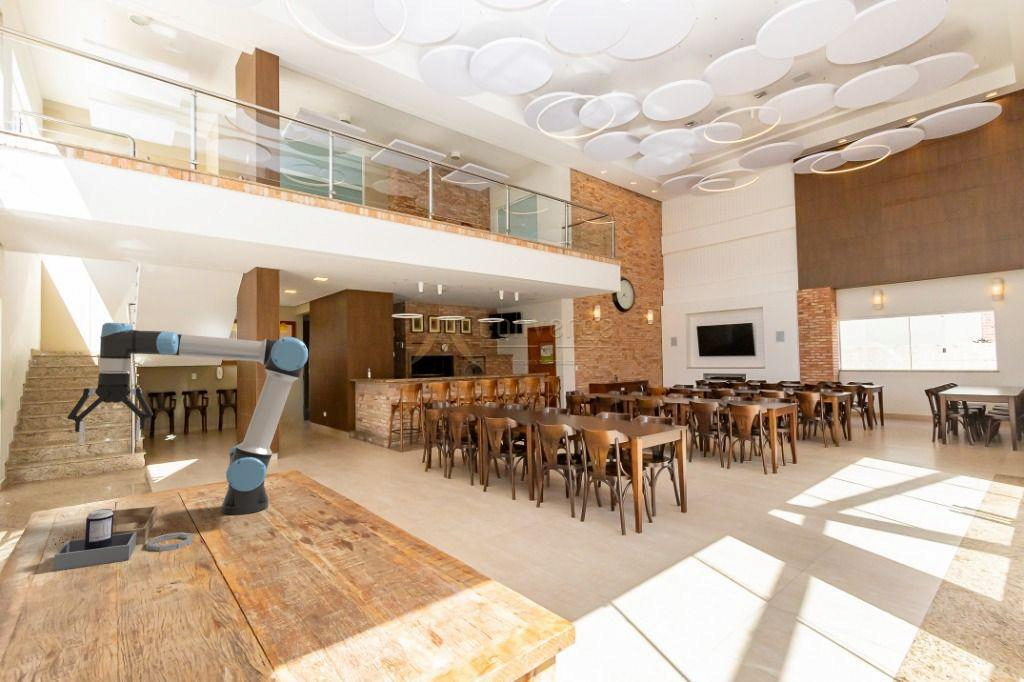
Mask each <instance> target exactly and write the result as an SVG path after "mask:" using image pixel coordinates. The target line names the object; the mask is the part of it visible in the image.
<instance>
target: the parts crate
mask: <svg viewBox="0 0 1024 682" xmlns="http://www.w3.org/2000/svg"><path fill="white" fill-rule="evenodd" d="M112 512H113V514H114V517H113V526H114V525H116V526H117V525H123V524H132V523H133V524H134V523H140V522H141V523H142V522H146V523H145V525H144V526H143V527H141V528H133V529H124V530H123V529H122V530H116V531H114V530H113V533H112V535H116V534H124V533H132V532H137V536H136V546H138V545H145V544H147V543H146V542H147V541H148V539H149V536H150V534H151V533H152V529H153V528H154V525H155V523H156V521H157V517H158V505H153V506H152V505H151V506H144V507H135V508H134V507H133V508H125V509H115V510H113V509H112Z"/></svg>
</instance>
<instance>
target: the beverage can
mask: <svg viewBox="0 0 1024 682" xmlns="http://www.w3.org/2000/svg"><path fill="white" fill-rule="evenodd" d="M112 511H113V509H111V508H99V509H94V510H91V511H89V512H88V515H87V516H86V520H85V521H86V522H85V532H84V533H85V534H84V535H85V536H84V537H85V549H84V550H92V549H99V548H107V547H112V533H113V532H114V525H113V517H114V514H113V512H112Z"/></svg>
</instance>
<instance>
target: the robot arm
mask: <svg viewBox="0 0 1024 682" xmlns="http://www.w3.org/2000/svg"><path fill="white" fill-rule="evenodd" d="M133 327H134V326H133V324H131V323H126V322H125V323H123V322H105V323H103V324H102V326H101V334H100V336H99V337H100V344H99V345H100V348H99V350H100V351H99V362H98V371H99V372H100V373H99V374H98V376H97V377H98V380H97V381H98V382H97V387H96V388H90V387H87V388H84V389H83V391H82V396H81V397H80V399H79V400H78V402H77V403H76V404H75V405H74V407H72V410H70V413H69V414H68V416H67V419H68V420H72V421H74V426H75V427H74V432H76V433H79V434H78V444H83V443H84V442H85V440H86V439H85V437H86V436H85V435H86V425H87V424H86V423H87V422H86V419H84V418H86V417H87V416H88V415H89V414H90V413H91V412H92V411H93V410H95V409H96V407H98V406H100V405H101V404H102V403H106V404H109V403H116V404H117V403H118V404H119V403H120V402H122V403H123V404H124V405H126V406H127V407H128V408H129V409H130V410H131V411H132V412H133V413H134V414H135V415H136V416H137V417H138V418H137V419H136V431H135V433H136V434H135V441H140V440H141V435H142V434H141V433H142V431H141V430H145V428H146V419H148V418H152V416H153V415H154V413H153V412H152V409H151V407H150V406H149V404H148V402H147V401H146V399H145V397H144V396H143V389H142V388H141V387H137V388H130V380H131V379H130V378H131V377H130V376H131V374H130V373H129V372H130V371H131V364H132V363H131V358H132V355H133V354H134V355H162V356H181V357H191V358H192V357H193V358H195V357H196V358H206V359H221V360H232V361H233V360H235V361H247V362H248V361H249V362H259V363H260V364H261V365H263V366H264V365H265V368H264V372H265V373H266V378H265V380H264V384H263V386H262V390H261V392H260V395H259V396H258V397H259V398H258V400H257V403H256V406H255V408H254V411H253V415H252V416H251V418H250V419H251V420H250V421H249V425H248V428H247V431H246V433H245V435H244V439H243V441H242V442H240V443H239V444H237V445H236V446H232V447H231V448H230V452H229V464H228V467H227V470H226V473H225V477H226V481H227V482H228V486H227V491H226V493H225V496H224V498H223V501H222V504H221V512H222V513H224V514H226V515H245V514H246V515H248V514H252V513H256V512H257V513H258V512H261V511H263V510H265V509H267V508H268V507H269V504H270V503H269V496H268V494H267V490H266V487H265V480H266V478H267V475H268V474H267V473H268V472H267V471H268V467H269V464H270V461H271V458H272V456H273V451H272V450H271V444H272V442H273V439H274V437H275V434H276V430H277V429H278V425H279V422H280V419H281V417H282V415H283V414H282V413H283V411H284V408H285V406H286V402H287V399H288V396H289V394H290V392H291V388H292V386H293V383H294V382H295V381H297V380H299V379H300V376H301V374H302V371H303V368H304V365H306V363H307V361H308V358H309V351H308V348H307V346H306V344H305V342H304V341H302V340H301V339H300V338H296V337H292V336H286V337H282V338H280V339H267V338H265V339H264V340H262V341H261V340H248V339H238V338H237V339H236V338H227V337H225V338H224V337H214V336H204V335H192V334H191V335H190V334H182V333H181V334H179V333H177V332H174V331H166V330H158V331H157V330H138V329H137V330H136V329H134V328H133ZM94 393H95V394H96V395H97V397H98V398H97V399H95V400H94V402H93V403H91V404H90V405H89V406H88V407H87V408H86V409H84V410H83V411H82V412H81V413H79V412H80V410H82V408H83V406H84V405H85V403H86V402H87V400H88V399H89V398H90V396H91V397H92V396H93V395H94ZM130 394H132V395H134V396H136V398H137V401H138V402H139V404H140V406H141V407H142V409H143V411H144V412H143V411H142V410H141V409H140V408H139V407H137V405H136V404H134V403H133V401H132V400H131V399H130V398H129V395H130ZM78 413H79V415H78Z"/></svg>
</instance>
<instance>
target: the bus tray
mask: <svg viewBox="0 0 1024 682" xmlns="http://www.w3.org/2000/svg"><path fill="white" fill-rule="evenodd" d="M136 536H137V532H132V533H124V534H116V535H112V547H107V548H99V549H92V550H84V549H85V538H77V539H70V540H67V541H66V542H65V543H64V544H63V545H62V546H61V547H60V548H59V550H58V551H57V552H56V553H55V554H54V558H53V572H57V571H56V570H58V571H63V570H64V569H65V570H70V569H77V568H85V567H91V566H98V565H104V564H111V563H118V562H125V561H129V560H130V558H131V556H132V554H133V553H134V551H135V549H136V547H137V545H136ZM65 570H64V571H65Z"/></svg>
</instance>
